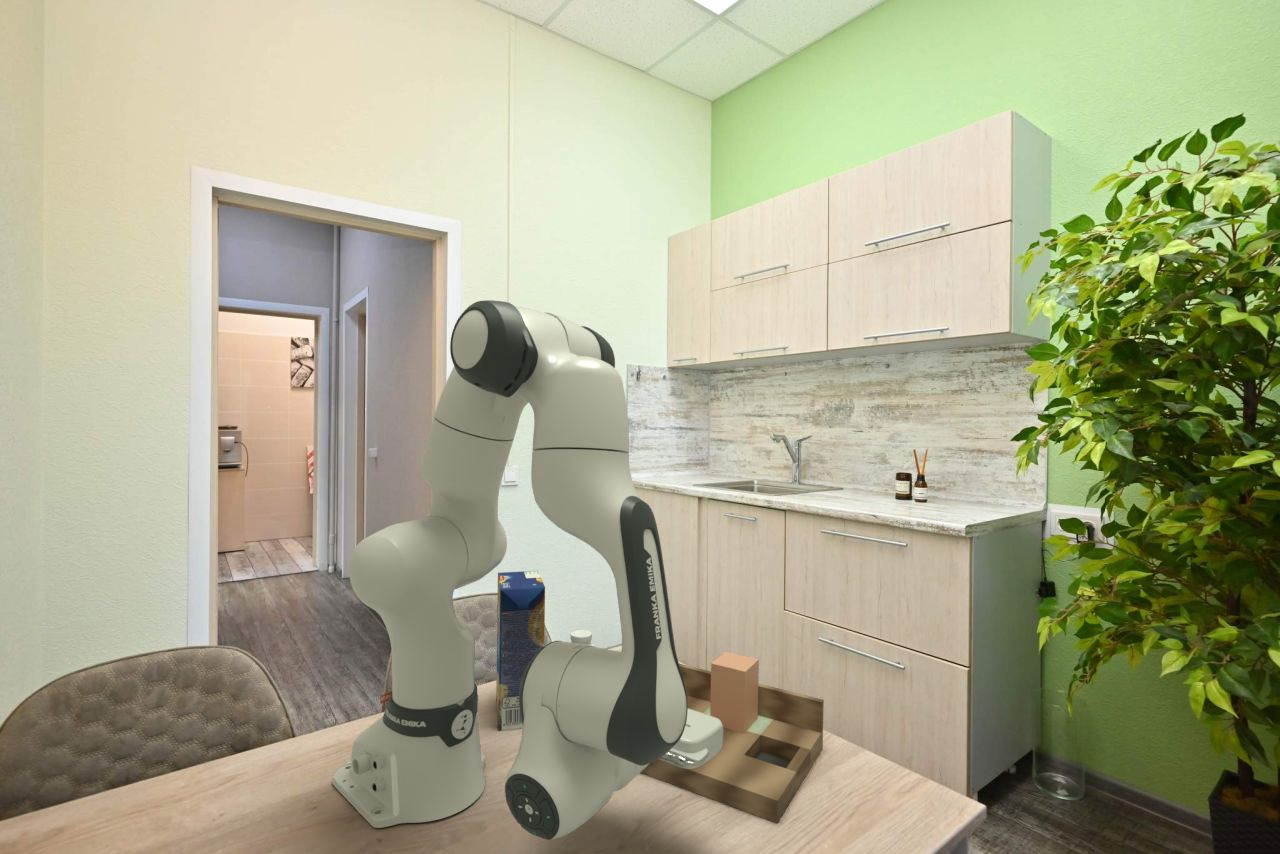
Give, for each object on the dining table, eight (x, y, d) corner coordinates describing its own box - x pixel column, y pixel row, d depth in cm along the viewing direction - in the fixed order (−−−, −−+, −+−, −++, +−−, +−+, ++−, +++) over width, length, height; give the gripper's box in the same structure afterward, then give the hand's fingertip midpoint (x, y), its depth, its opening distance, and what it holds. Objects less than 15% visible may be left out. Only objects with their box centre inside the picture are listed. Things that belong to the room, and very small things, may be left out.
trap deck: (609, 760, 95) (609, 709, 95) (676, 705, 114) (677, 662, 114) (777, 823, 81) (778, 763, 81) (822, 748, 100) (823, 699, 100)
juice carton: (543, 726, 106) (545, 587, 105) (498, 731, 104) (500, 590, 103) (536, 695, 117) (537, 570, 117) (496, 699, 115) (497, 572, 115)
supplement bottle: (596, 697, 117) (596, 638, 117) (565, 698, 116) (566, 639, 116) (594, 684, 123) (595, 627, 123) (565, 685, 122) (566, 628, 122)
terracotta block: (710, 723, 102) (711, 663, 101) (724, 709, 107) (725, 651, 107) (744, 733, 98) (745, 671, 98) (757, 718, 103) (758, 659, 103)
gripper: (697, 742, 68) (743, 695, 80) (553, 689, 79) (613, 655, 91) (693, 797, 68) (741, 743, 80) (551, 737, 79) (611, 697, 91)
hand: (672, 696), depth 86 cm, fingers closed
